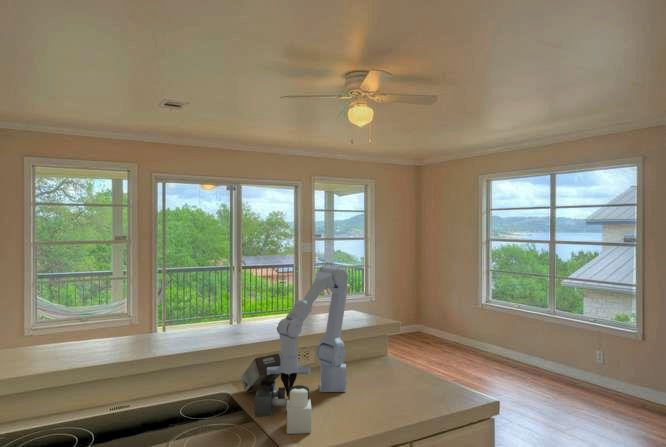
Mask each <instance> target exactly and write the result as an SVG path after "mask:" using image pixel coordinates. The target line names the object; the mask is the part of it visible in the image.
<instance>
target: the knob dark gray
mask: <svg viewBox="0 0 666 447" xmlns="http://www.w3.org/2000/svg"><path fill="white" fill-rule="evenodd" d="M274 397H276V398H277V399H286V390H285V387H284V386H283V387H282V386H281V387H280V386H279V387H278V389H277V390H276V391H274Z"/></svg>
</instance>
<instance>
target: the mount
mask: <svg viewBox="0 0 666 447" xmlns="http://www.w3.org/2000/svg"><path fill="white" fill-rule="evenodd" d="M276 384H277V383H276V380H274V381H261V382H260V385H259V388H258V390H256V394H255V396H254V417H255V418H256V417H260V418H261V417H272V414H273V410H274V407H275V406H272V399H277V397H274V391H277V390H276Z"/></svg>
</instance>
